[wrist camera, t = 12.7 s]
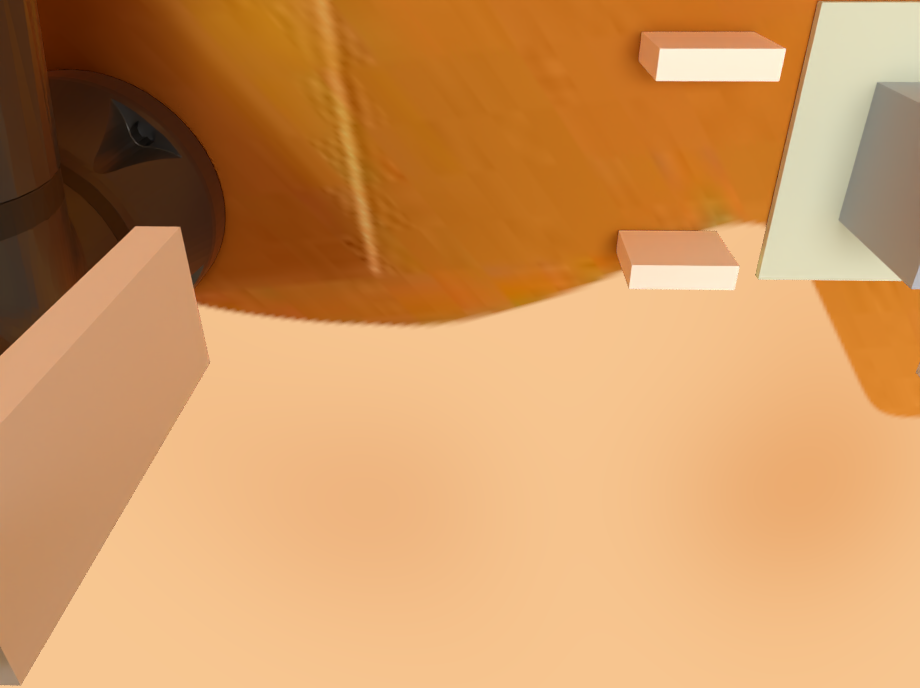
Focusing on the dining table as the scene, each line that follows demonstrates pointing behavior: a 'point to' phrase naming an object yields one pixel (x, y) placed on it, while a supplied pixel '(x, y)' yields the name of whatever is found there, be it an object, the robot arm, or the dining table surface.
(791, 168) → the sage mat
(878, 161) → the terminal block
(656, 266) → the white rectangular blocks
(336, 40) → the dining table surface
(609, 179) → the dining table surface
